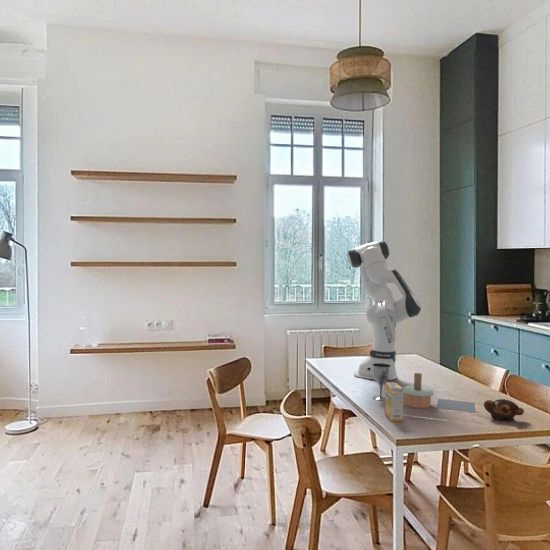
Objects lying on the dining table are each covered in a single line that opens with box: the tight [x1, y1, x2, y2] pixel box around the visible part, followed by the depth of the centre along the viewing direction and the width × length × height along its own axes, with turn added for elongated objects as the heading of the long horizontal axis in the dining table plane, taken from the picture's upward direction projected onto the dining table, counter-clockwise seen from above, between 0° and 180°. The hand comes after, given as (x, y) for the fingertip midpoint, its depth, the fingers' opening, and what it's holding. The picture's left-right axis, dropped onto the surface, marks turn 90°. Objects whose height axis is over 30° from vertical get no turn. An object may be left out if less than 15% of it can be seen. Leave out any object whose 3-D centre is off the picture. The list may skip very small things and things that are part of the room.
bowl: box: [403, 393, 432, 409], centre depth 210 cm, size 11×11×6 cm
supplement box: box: [384, 382, 404, 422], centre depth 192 cm, size 8×5×13 cm, turn 5°
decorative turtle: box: [483, 398, 525, 422], centre depth 193 cm, size 10×15×8 cm, turn 94°
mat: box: [436, 398, 476, 413], centre depth 210 cm, size 15×15×1 cm
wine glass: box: [372, 363, 391, 402], centre depth 220 cm, size 8×8×15 cm
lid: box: [402, 372, 435, 397], centre depth 210 cm, size 13×13×8 cm
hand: (387, 335), depth 214 cm, fingers open, 8 cm apart
